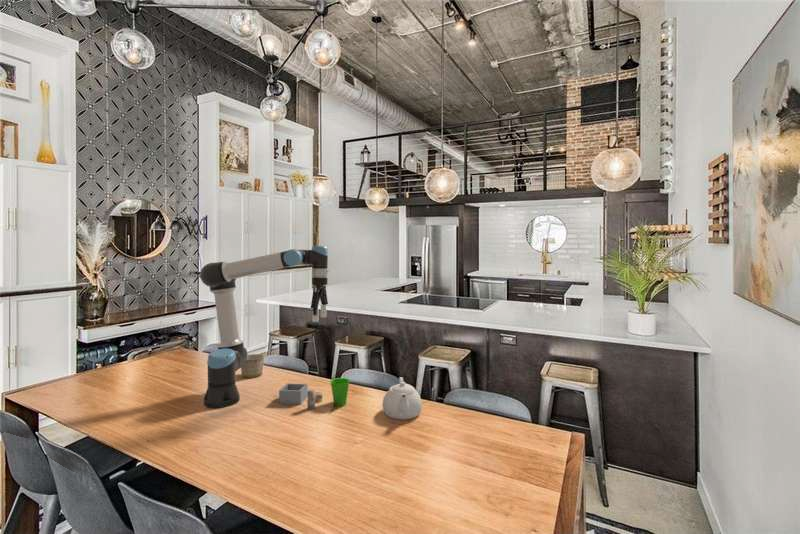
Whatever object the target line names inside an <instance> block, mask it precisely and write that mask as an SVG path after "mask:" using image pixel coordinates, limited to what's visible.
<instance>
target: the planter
mask: <svg viewBox="0 0 800 534" xmlns="http://www.w3.org/2000/svg"><path fill="white" fill-rule="evenodd" d="M264 360H265V356H264V355H263V354H259V353H258V354H257V353H256V354H254V353H253V354H248V358H247V361H246V362H245V364H244V365H243V366H242V367H241V368H240V371H241V376H242V377H243V378H245V377H246V378H247V379H253V378H252V377H254V378H258V377H260V375H261V376H262V375H263V370H264Z"/></svg>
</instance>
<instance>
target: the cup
mask: <svg viewBox="0 0 800 534" xmlns="http://www.w3.org/2000/svg"><path fill="white" fill-rule="evenodd" d="M350 382H351V379H349V378H347V377H337V378H331V380H330V381H329V383H330V386H331V392H332V398H333V404H334V406H335V407H338V408H340V407H344V406H345V405H346V403H347V396H348V392H349V385H350Z"/></svg>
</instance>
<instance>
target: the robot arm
mask: <svg viewBox="0 0 800 534" xmlns="http://www.w3.org/2000/svg"><path fill="white" fill-rule="evenodd" d="M328 256H329V253H328V247H327V246H325V245H313V246H312V247H311V249H295V248H291V249H287V250H284V251H279V252H276V253H275V252H274V253H269V254H266V255H265V254H264V255H260V256H256V257H250V258H247V259H246V258H245V259H241V260H236V261H231V262H227V261H218V262H209V263H207V264H205V265H204V266H203V267H202V268H201V270H200V273H199V278H200V280H201V282H202V283H203V284H204V285H205V286H206V287H209V291H210V292H211V293H213V296H214V302H215V310H216V317H217V324H218V333H219V338H220V343H218V345H217V349H216V350H213V351H211V352H210V353H209V354H208V355H207V361H206V364H207V388H206V392H205V395H204V397H203V406H204V407H205V408H206V407H207V408H209V409H212V408H213V409H215V408H216V409H217V408H218V409H219V408H225V407H231V406H233V405H236V404H237V403H239V401H240V400H241V399H240V392H239V389H238V387H237V385H236V372H237V371H238V370H241V367H242V366H243V365H244V364H245V362H246V361H247V358H248V355H249V353H248V349H247V348H246V347H245V345H244V341H243V340H241V338H240V334H239V326H238V319H237V318H238V317H237V312H236V304H235V297H234V291H235V290H236V287H237V286H236V279H239V278H243V277H249V276H252V275H258V274H262V273H267V272H272V271H277V270H281V269H284V268H285V269H286V268H289V267H290V268H291V267H295V266H312V267H311V276H312V277H311V284H312V285H313V286H315V287H313V288H312V297H311V304H310V309H312V319H311V320H312V323H318V322H319V303H321V304H320V318H327V305H329V301H328V296H327V295H328V294H327V285H328V279H329V278H328V273H329V270H328V269H329V268H328V265H329V264H328V262H329V260H328V259H329V257H328Z"/></svg>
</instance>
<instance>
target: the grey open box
mask: <svg viewBox="0 0 800 534" xmlns="http://www.w3.org/2000/svg"><path fill="white" fill-rule="evenodd" d="M308 389H309V388H308V383H293V382H291V383H290V382H288V383H285V385H283V386H282V387H281V388H280V389H279V390H278V391H279V392H278V395H279V397H278V401H279V402H278V404H279V405H280V404H283V405H302V404H303V403H304V402H305V400H306V399H308V397H307V391H309V390H308Z"/></svg>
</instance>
